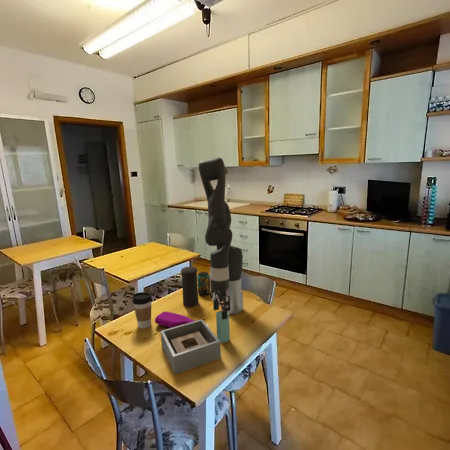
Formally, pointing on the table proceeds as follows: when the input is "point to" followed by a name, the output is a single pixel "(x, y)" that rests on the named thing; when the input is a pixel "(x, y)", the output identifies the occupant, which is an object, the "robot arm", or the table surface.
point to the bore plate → (187, 342)
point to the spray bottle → (172, 319)
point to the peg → (222, 328)
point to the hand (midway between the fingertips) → (220, 314)
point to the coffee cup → (142, 309)
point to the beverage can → (203, 283)
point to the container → (189, 286)
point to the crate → (194, 355)
